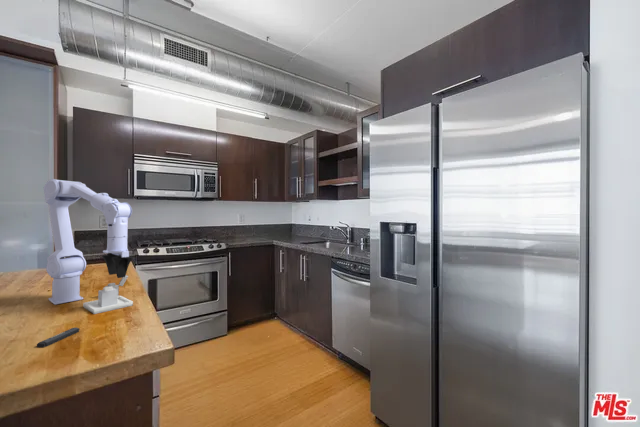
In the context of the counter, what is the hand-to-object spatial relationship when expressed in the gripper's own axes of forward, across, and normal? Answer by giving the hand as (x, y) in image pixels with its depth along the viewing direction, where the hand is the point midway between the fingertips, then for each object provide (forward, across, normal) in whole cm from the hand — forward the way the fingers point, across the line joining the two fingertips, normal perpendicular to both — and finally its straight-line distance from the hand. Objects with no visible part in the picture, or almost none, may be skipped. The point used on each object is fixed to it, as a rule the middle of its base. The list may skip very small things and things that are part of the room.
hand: (116, 275), depth 97 cm
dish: (+10, -2, -2) cm, 11 cm away
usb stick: (+11, +18, -18) cm, 28 cm away
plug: (+10, -2, -2) cm, 10 cm away
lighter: (+11, -13, +4) cm, 17 cm away
